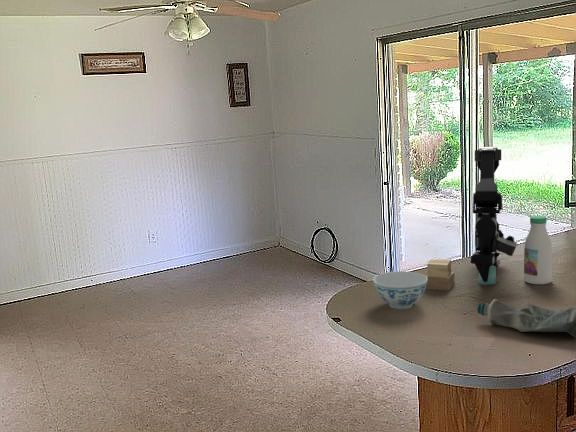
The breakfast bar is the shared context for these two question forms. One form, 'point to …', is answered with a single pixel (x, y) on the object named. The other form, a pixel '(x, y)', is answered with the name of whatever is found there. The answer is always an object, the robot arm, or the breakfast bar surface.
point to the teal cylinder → (489, 277)
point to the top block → (439, 268)
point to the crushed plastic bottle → (530, 317)
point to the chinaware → (400, 288)
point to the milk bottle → (538, 253)
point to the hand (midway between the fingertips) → (486, 279)
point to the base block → (440, 282)
